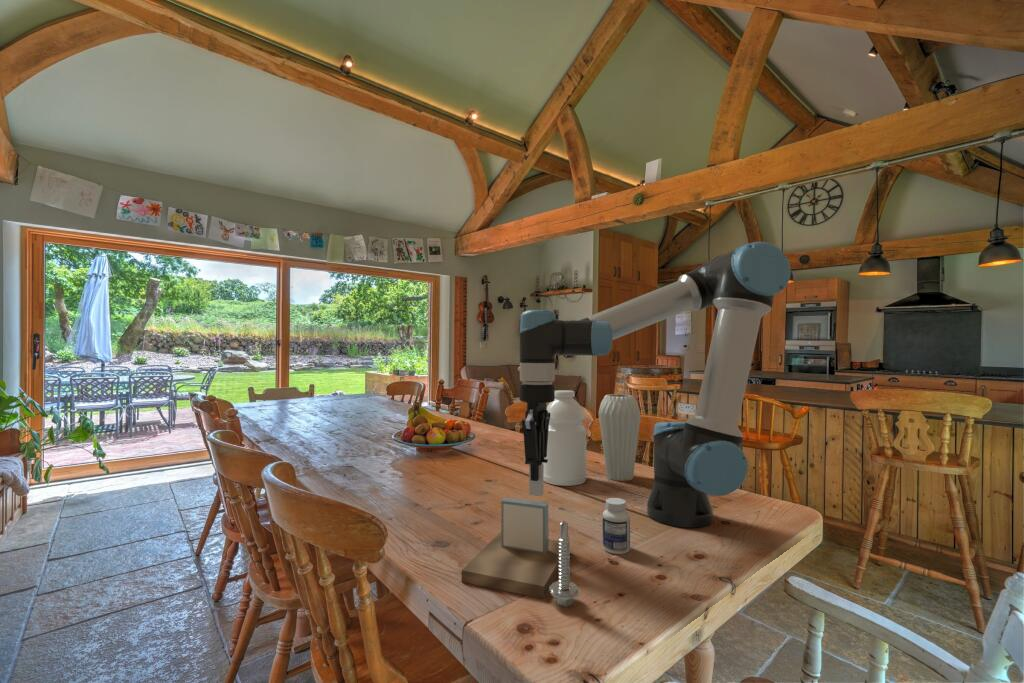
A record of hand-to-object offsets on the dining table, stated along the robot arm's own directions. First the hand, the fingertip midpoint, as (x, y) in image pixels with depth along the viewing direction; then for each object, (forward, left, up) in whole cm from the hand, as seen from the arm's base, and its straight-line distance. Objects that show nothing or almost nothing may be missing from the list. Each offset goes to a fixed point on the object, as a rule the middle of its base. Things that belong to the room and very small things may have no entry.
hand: (536, 494), depth 94 cm
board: (0, +11, -10) cm, 15 cm away
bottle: (+6, -47, -10) cm, 49 cm away
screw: (-11, +20, -10) cm, 25 cm away
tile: (0, +8, -8) cm, 11 cm away
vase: (-10, -56, -10) cm, 58 cm away
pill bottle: (-16, -3, -10) cm, 19 cm away
